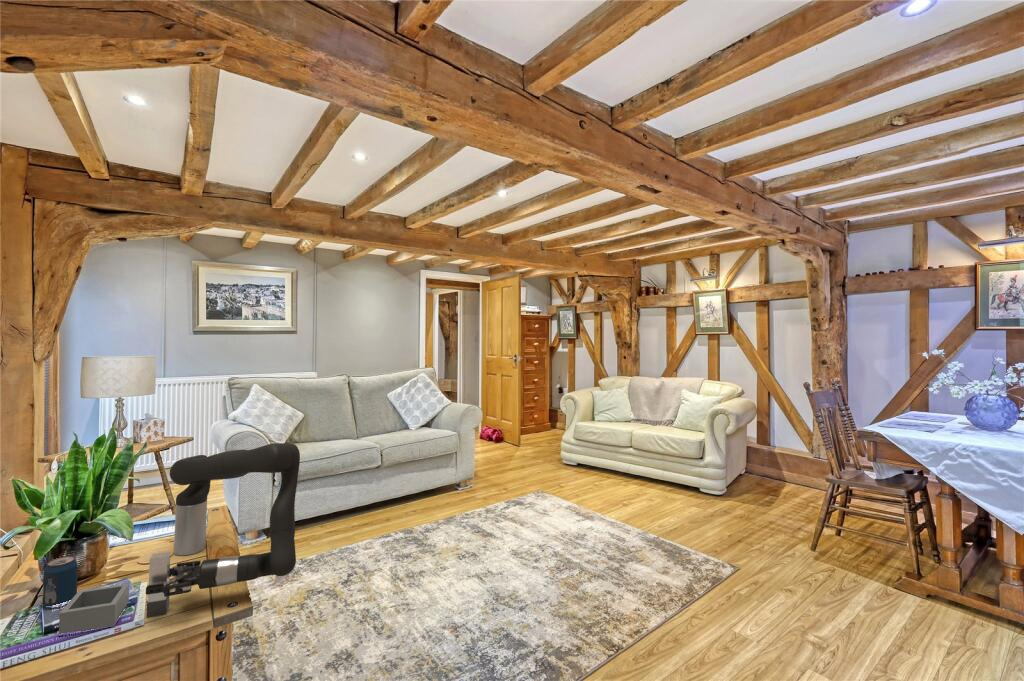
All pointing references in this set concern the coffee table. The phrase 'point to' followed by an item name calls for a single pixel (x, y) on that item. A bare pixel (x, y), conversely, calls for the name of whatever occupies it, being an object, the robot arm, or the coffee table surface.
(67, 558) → the soda can
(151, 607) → the two-tone gray pillar
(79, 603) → the gray open tray
